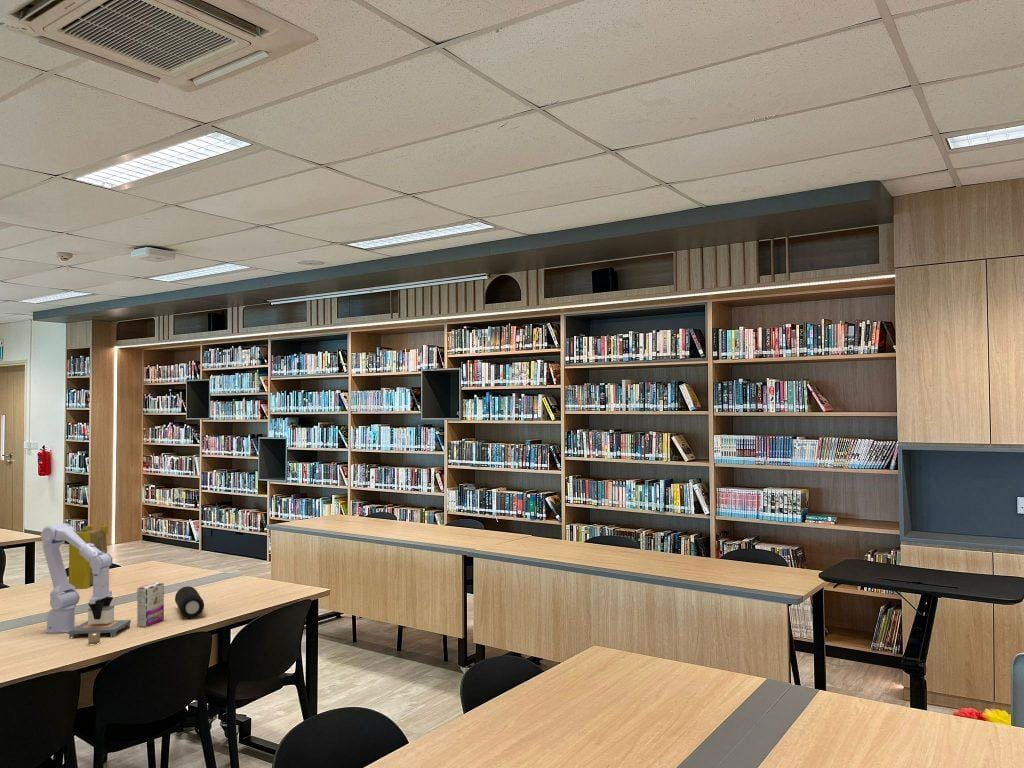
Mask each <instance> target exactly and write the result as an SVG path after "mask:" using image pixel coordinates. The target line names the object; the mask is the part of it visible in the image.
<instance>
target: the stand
mask: <svg viewBox="0 0 1024 768" xmlns="http://www.w3.org/2000/svg"><path fill="white" fill-rule="evenodd" d="M131 623H132V619H117V620H115V619H114V620H113V621H112V622H110V623H106V624H88V620H86V621H84V622H82V623H81V624H78V625H76V626H77V627H75V628H73V629H71V630H69V632H68V634H69V637H68V638H69V639H72V638H71V637H75V636H77V635H76V634H89V633H92V632H100V634H106V633H107V634H108V633H110V635H109V636H115V635H116V636H117V632H118V631H119V630H121V629H123V628H125V629H129V628H128V627H130V628H131ZM116 636H115V637H116ZM75 638H76V637H75Z"/></svg>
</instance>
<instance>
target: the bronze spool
mask: <svg viewBox="0 0 1024 768" xmlns="http://www.w3.org/2000/svg"><path fill="white" fill-rule="evenodd" d="M87 637H88V642H87V643H88V644H97V643H99V642H100V643H101V633H100V632H92V633H87ZM100 643H99V644H100ZM88 644H87V645H88ZM97 645H98V644H97Z"/></svg>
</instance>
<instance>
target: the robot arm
mask: <svg viewBox="0 0 1024 768" xmlns="http://www.w3.org/2000/svg"><path fill="white" fill-rule="evenodd" d="M75 532H76V531H74V527H73V526H71V525H70V524H69V523H68V522H63V523H59V524H54V525H46V526H45V527H44V528H42V531H41V533H40V538H41V541H42V550H43V554H44V556H45V560H46V563H47V567H48V572H49V574H50V579H51V581H52V586H53V589H52V590H51V592H50V593H49V599H50V600H49V605H50V608H51V609H50V610H49V611H48V613H47V616H46V631H45V634H53V633H54V634H55V633H56V634H57V633H58V634H59V633H62V634H63V633H69V630H71V629H73V628H75V627H77V626H78V625H75V624H76V622H75V620H76V619H75V618H76V617H75V616H76V615H75V614H76V613H75V612H76V607H77V604H79V602H80V598H81V596H80V594H79V592H78V591H77V588H75V586H73V585H71V584H69V577H68V575H67V570H66V568H65V565H64V560H63V557H62V554H61V551H60V547H61V545H62V544H63V543H64V542H65V541H66V542H67V543H70V544H71V545H73V546H74V547H76V548H77V549H79V554H80V555H81V556H82V557H84V558H85V559H86V560H87V561H88V562H90V567H91V568H92V573H93V584H92V595H91V597H90V598H89V600H88V603H87V604H88V606H89V608H91V610H92V613H93V616H94V619H100V618H101V612H102V607H103V606H111V603H112V601H113V599H114V596H112V595H113V593H112V592H113V590H110V567H111V566H112V564H113V556H112V555H110V553H108V552H107V553H102V551H100V550H98V549H97V548H96V547H95V545H94V544H91V543H88V544H86V543H85V542H84V541H83V540H82V539H81V538H80V537H79V536H78V535H77V534H76V533H75Z"/></svg>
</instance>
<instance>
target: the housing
mask: <svg viewBox="0 0 1024 768" xmlns="http://www.w3.org/2000/svg"><path fill="white" fill-rule="evenodd" d="M113 620H115V605H110V606H103V607H102V612H101V618H100V619H94V616H93V613H92V610H91V608H90V607H89V608H88V609H87V621H88V624H106V623H110V622H112V621H113Z"/></svg>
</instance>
